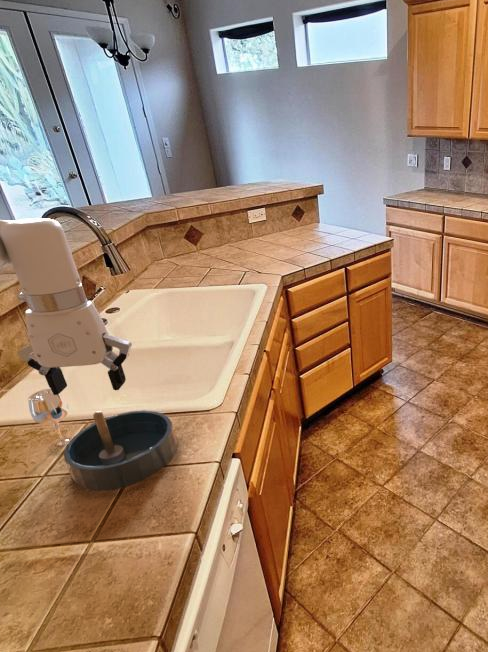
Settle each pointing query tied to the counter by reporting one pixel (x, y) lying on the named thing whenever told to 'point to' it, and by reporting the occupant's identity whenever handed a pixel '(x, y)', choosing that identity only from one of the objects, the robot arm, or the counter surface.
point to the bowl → (139, 446)
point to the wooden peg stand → (107, 442)
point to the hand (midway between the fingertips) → (90, 388)
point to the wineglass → (49, 410)
